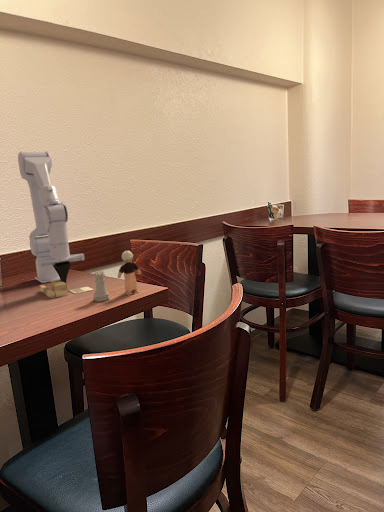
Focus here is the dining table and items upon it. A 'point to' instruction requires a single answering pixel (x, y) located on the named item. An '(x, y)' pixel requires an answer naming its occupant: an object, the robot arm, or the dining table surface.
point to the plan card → (81, 290)
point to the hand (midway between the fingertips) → (64, 285)
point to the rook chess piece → (100, 288)
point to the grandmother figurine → (129, 273)
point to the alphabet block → (54, 282)
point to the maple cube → (59, 289)
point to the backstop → (47, 291)
